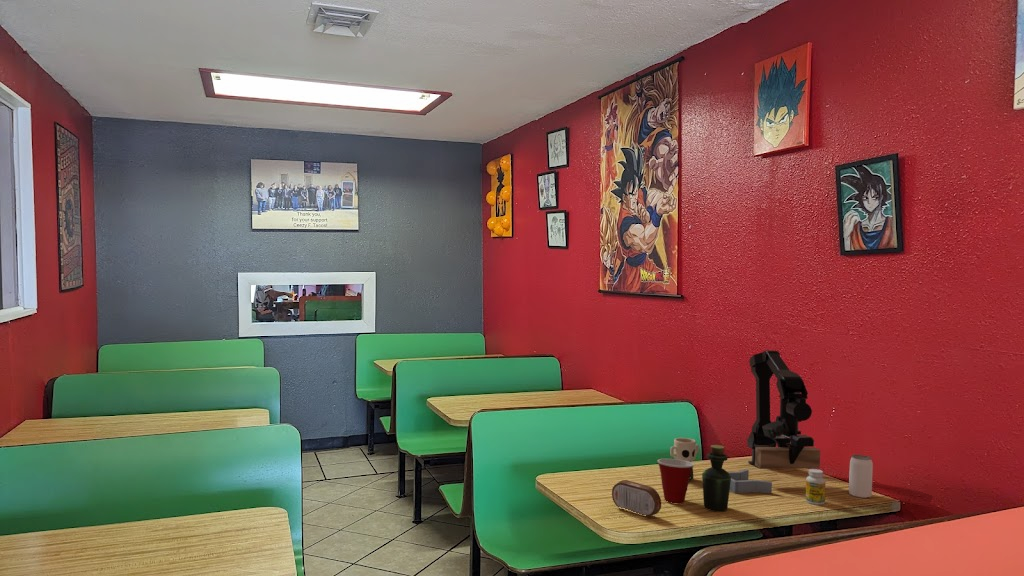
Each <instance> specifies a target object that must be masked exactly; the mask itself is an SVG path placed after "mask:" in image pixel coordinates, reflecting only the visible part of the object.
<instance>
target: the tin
mask: <svg viewBox="0 0 1024 576" xmlns="http://www.w3.org/2000/svg"><path fill="white" fill-rule="evenodd" d="M611 490H612V491H611V497H612V501H613V503H614V505H615V506H616V507H617V506H618V507H621V508H625V509H628V510H631V511H633V512H636V513H639V514H642V515H646V516H649V517H648V518H650V516H651V517H653V516H655V515H657V514H658V513H659V512H660V511H661V508H662V499H661V496H660V494H659V492H657V490H656V489H655V488H654V487H652V486H649V485H647V484H644V483H643V484H642V483H639V482H635V481H631V480H628V479H623V480H620V481H618V482H617V483H615V485H613V487H612V488H611ZM618 507H617V508H618Z"/></svg>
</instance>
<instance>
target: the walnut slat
mask: <svg viewBox="0 0 1024 576" xmlns="http://www.w3.org/2000/svg"><path fill="white" fill-rule="evenodd" d="M756 466H757V467H756ZM754 467H756V468H758V469H760V470H762V469H763V470H772V469H773V470H774V469H775V470H777V469H778V470H784V469H785V470H786V469H787V470H789V469H790V470H791V469H792V470H794V469H795V470H796V469H797V470H799V469H804V470H805V469H807V470H810V469H817V470H821V469H820V467H821V450H820V449H818V448H816V446H811V447H804V448H803V449H802V451H801V452H800V454H799V455H798V457H797V459H796V460H795V462H794V464H790V459H789V447H778V446H776V447H755V466H754Z"/></svg>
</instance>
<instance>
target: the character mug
mask: <svg viewBox="0 0 1024 576" xmlns="http://www.w3.org/2000/svg"><path fill="white" fill-rule="evenodd" d="M696 441H697V440H695V439H693V438H689V437H677V438H676V437H675V438H674V440H673V446H670V450H669V451H670V452H669V453H670V454H669V455H670V457H673V459H678V460H685V461H689V462H694V461H695V460H696V458H697V455H699V452H700V447H699V444H697V442H696ZM691 480H694V467H693V468H692V470H691V474H690V478H689V481H691Z"/></svg>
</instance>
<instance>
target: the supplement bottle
mask: <svg viewBox="0 0 1024 576" xmlns="http://www.w3.org/2000/svg"><path fill="white" fill-rule="evenodd" d="M805 502H807V503H808V504H810V505H816V506H817V505H818V506H822V505H824V504H825V503H826V480H825V478H824V471H823V470H821V469H808V476H806V478H805Z"/></svg>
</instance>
